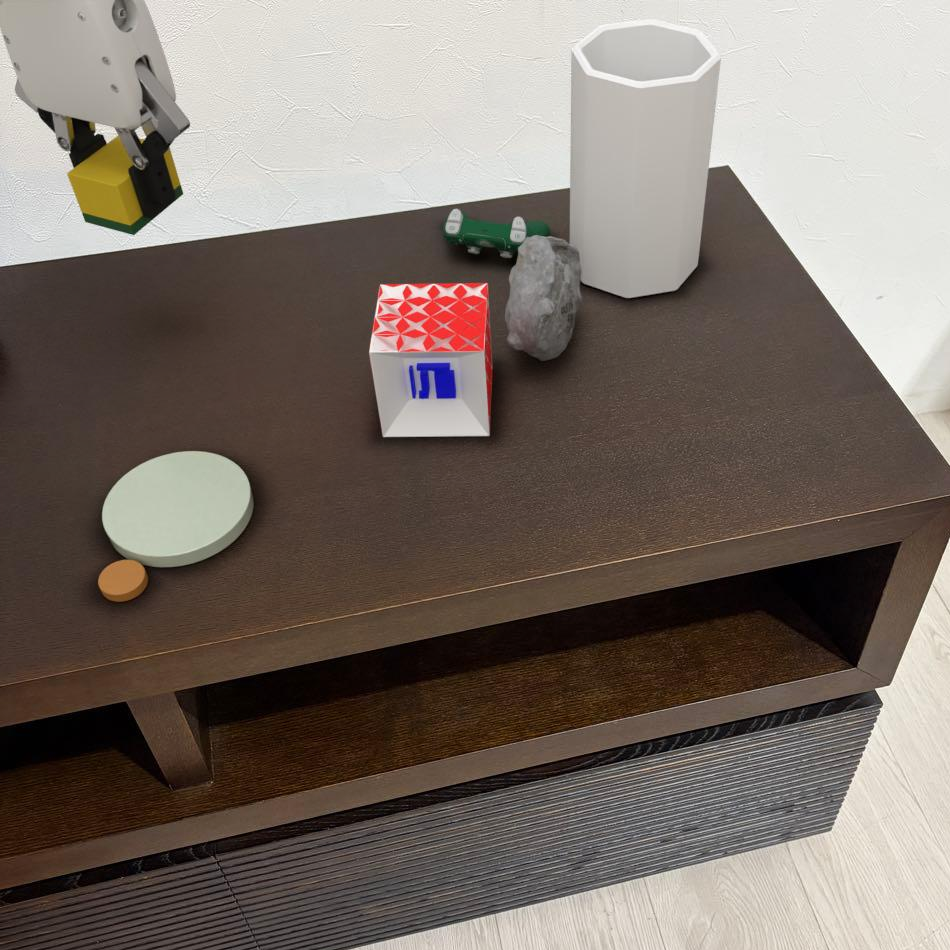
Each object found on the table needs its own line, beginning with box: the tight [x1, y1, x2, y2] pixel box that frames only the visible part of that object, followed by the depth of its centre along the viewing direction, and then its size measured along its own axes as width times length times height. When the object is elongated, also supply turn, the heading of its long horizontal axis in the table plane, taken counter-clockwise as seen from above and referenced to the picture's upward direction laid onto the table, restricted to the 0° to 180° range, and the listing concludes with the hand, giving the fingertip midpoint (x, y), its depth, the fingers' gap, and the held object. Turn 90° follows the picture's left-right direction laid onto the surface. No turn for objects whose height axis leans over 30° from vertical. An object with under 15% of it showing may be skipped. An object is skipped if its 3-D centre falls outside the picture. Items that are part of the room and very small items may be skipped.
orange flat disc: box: [97, 559, 149, 603], centre depth 72 cm, size 3×3×1 cm
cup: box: [569, 18, 722, 299], centre depth 89 cm, size 11×11×18 cm
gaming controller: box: [442, 208, 552, 259], centre depth 96 cm, size 9×4×6 cm
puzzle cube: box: [368, 282, 494, 438], centre depth 81 cm, size 8×8×8 cm
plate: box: [101, 450, 255, 568], centre depth 76 cm, size 10×10×1 cm
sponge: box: [66, 135, 184, 236], centre depth 81 cm, size 6×4×4 cm
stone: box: [504, 235, 583, 362], centre depth 84 cm, size 9×7×10 cm
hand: (131, 199), depth 82 cm, fingers closed on sponge, 4 cm apart
